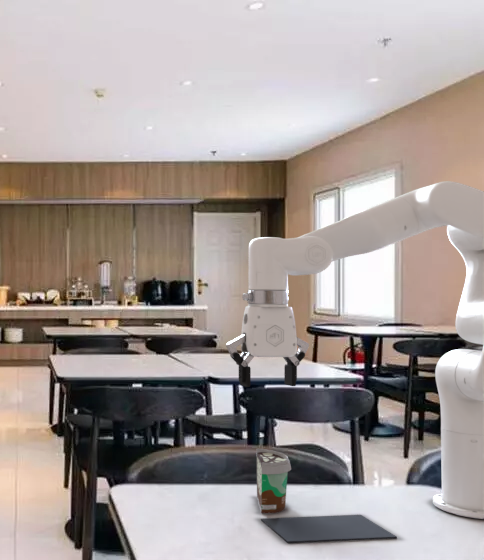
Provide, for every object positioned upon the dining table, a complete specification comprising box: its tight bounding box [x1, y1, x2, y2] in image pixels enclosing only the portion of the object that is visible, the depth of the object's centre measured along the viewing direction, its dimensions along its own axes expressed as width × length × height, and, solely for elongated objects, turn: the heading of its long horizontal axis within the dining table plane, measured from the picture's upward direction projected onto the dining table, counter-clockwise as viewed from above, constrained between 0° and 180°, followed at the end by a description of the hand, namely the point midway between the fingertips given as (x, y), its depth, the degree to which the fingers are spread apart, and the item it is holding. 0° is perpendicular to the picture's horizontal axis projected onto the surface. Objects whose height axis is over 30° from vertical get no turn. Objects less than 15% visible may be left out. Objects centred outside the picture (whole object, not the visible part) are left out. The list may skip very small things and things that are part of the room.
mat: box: [260, 514, 398, 544], centre depth 112 cm, size 20×11×1 cm, turn 97°
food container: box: [255, 448, 292, 515], centre depth 124 cm, size 12×6×10 cm, turn 168°
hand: (267, 385), depth 123 cm, fingers open, 9 cm apart
